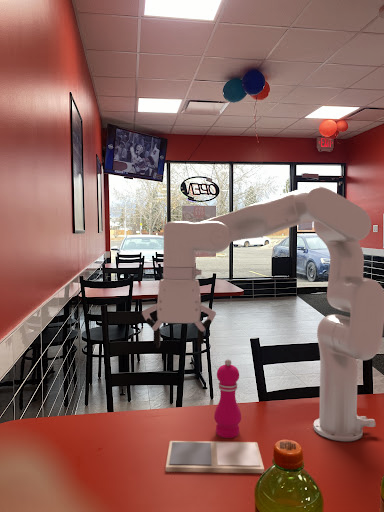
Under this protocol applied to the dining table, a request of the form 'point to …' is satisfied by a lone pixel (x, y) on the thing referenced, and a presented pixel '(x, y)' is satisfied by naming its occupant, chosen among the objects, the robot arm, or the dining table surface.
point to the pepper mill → (227, 402)
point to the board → (214, 457)
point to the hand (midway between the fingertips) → (178, 346)
